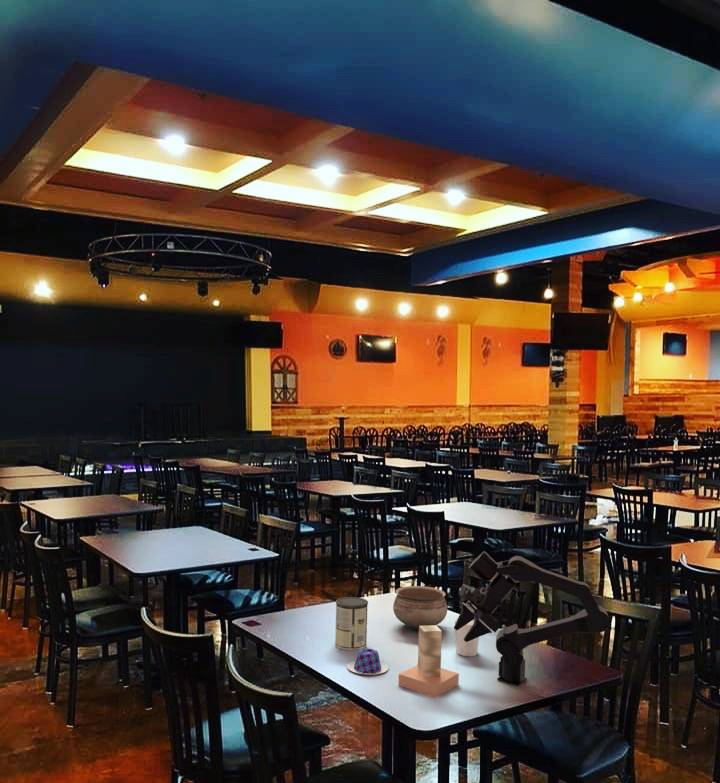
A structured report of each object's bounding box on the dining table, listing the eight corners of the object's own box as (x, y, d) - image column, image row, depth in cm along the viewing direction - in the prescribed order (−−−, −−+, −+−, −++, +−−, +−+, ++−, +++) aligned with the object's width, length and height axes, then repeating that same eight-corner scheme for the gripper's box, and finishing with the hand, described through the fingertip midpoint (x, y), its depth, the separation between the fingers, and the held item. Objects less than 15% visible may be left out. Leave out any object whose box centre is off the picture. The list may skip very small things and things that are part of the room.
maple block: (434, 669, 198) (436, 625, 198) (440, 676, 193) (441, 630, 193) (417, 670, 197) (419, 625, 197) (422, 677, 192) (424, 631, 192)
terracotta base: (458, 684, 196) (458, 673, 196) (435, 697, 186) (435, 685, 186) (422, 672, 203) (422, 662, 203) (398, 684, 194) (398, 674, 194)
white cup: (478, 658, 217) (479, 625, 217) (453, 655, 218) (454, 623, 218) (479, 649, 224) (480, 618, 225) (454, 647, 226) (455, 616, 226)
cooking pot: (416, 642, 230) (418, 604, 230) (375, 627, 243) (376, 592, 244) (462, 627, 247) (464, 592, 248) (421, 614, 261) (422, 581, 261)
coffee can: (343, 638, 232) (344, 595, 232) (371, 643, 227) (373, 599, 228) (328, 647, 222) (330, 602, 223) (358, 653, 218) (359, 607, 218)
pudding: (365, 659, 214) (366, 641, 214) (396, 669, 206) (397, 651, 206) (338, 669, 205) (339, 651, 205) (370, 680, 197) (370, 661, 197)
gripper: (465, 566, 209) (431, 606, 207) (486, 584, 191) (449, 628, 189) (491, 590, 210) (457, 630, 209) (515, 610, 192) (478, 654, 190)
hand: (459, 635), depth 199 cm, fingers open, 9 cm apart
